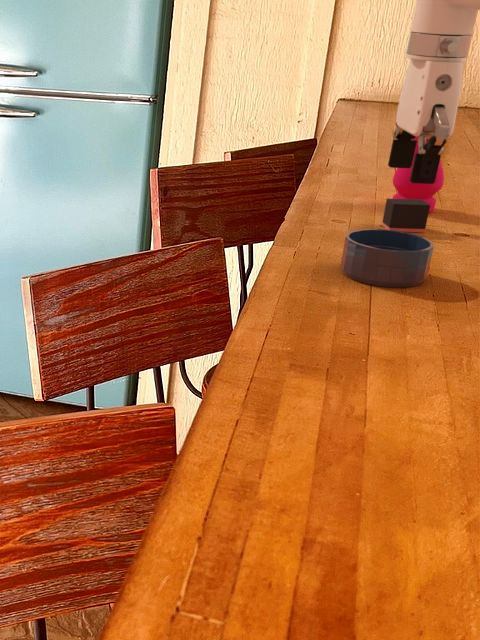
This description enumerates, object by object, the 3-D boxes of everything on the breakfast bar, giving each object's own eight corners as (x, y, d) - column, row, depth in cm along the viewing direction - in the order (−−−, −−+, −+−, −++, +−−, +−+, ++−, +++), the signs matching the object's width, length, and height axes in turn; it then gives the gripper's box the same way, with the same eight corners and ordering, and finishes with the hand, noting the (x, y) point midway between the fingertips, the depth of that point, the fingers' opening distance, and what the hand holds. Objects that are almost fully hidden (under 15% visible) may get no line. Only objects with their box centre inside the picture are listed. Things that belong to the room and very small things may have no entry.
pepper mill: (437, 206, 141) (465, 75, 133) (437, 216, 135) (466, 79, 127) (388, 201, 144) (413, 72, 136) (386, 210, 138) (412, 77, 130)
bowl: (410, 265, 112) (417, 230, 110) (438, 290, 103) (446, 253, 101) (331, 262, 113) (336, 227, 111) (351, 286, 104) (358, 249, 102)
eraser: (416, 226, 130) (422, 199, 128) (424, 232, 126) (430, 205, 125) (381, 225, 130) (386, 198, 128) (388, 231, 127) (393, 203, 125)
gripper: (493, 55, 110) (460, 190, 117) (443, 42, 126) (417, 163, 133) (431, 53, 111) (402, 188, 118) (389, 41, 127) (365, 161, 134)
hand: (410, 174), depth 126 cm, fingers open, 9 cm apart
